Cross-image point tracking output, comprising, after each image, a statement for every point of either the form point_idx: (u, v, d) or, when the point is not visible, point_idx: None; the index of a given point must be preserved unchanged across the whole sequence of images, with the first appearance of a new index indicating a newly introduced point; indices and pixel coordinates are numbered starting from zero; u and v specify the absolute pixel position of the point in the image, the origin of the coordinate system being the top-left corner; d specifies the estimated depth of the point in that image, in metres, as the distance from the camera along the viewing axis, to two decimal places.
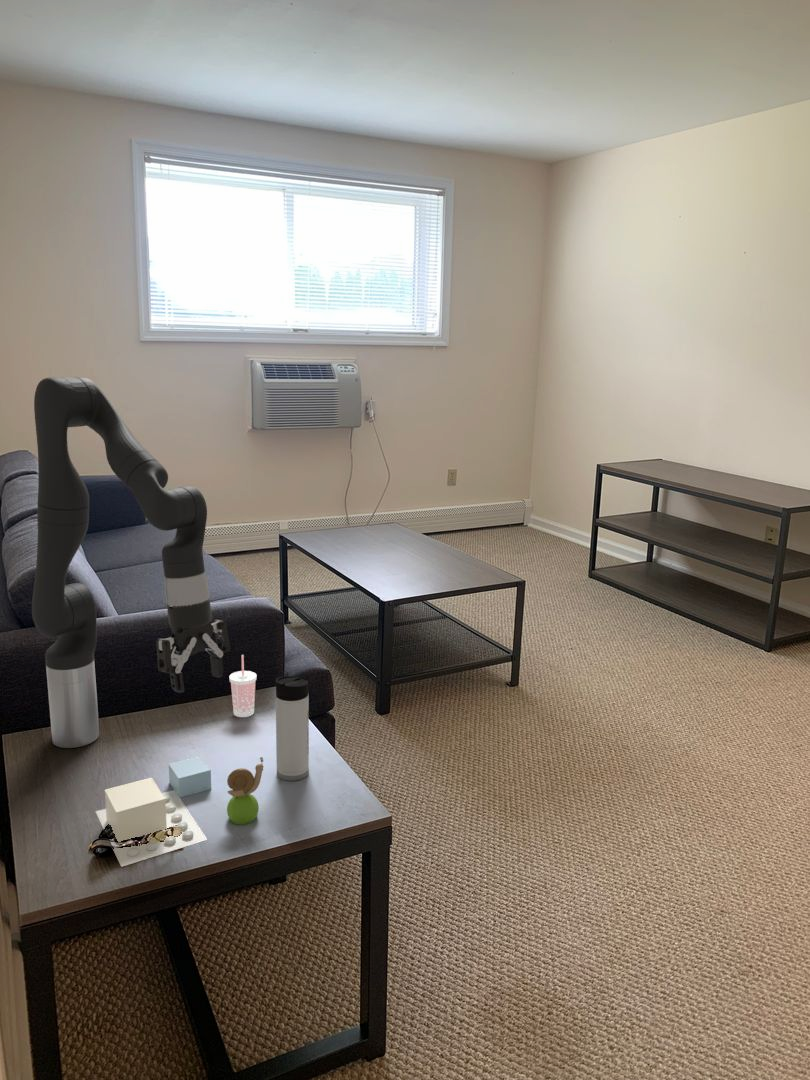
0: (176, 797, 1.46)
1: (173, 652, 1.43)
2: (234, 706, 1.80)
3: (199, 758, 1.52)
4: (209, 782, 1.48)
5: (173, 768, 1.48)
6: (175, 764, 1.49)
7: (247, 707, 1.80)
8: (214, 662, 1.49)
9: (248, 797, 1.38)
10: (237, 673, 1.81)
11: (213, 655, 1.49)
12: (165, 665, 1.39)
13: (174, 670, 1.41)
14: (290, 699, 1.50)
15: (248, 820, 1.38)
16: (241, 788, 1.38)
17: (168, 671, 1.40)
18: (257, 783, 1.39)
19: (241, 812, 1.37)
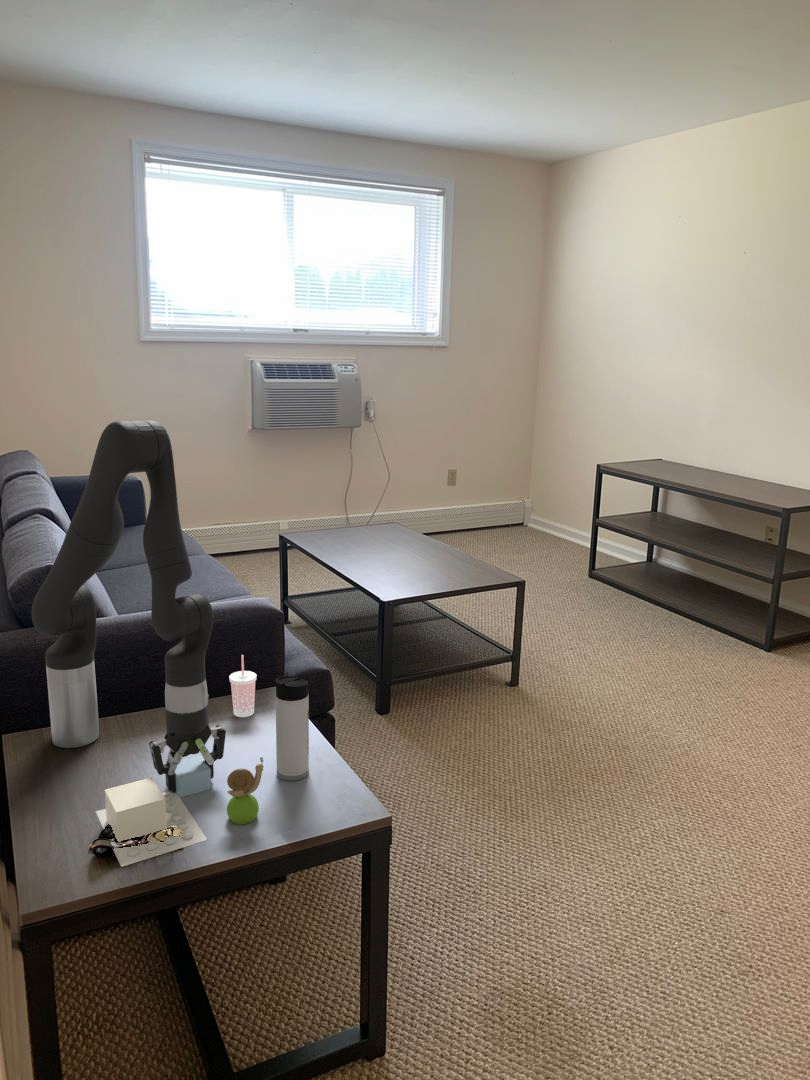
0: (176, 797, 1.46)
1: (170, 751, 1.47)
2: (234, 706, 1.80)
3: (199, 757, 1.52)
4: (209, 781, 1.48)
5: None
6: None
7: (247, 707, 1.80)
8: None
9: (248, 798, 1.38)
10: (237, 673, 1.81)
11: (205, 760, 1.50)
12: (157, 768, 1.44)
13: (167, 772, 1.45)
14: (290, 699, 1.50)
15: (248, 820, 1.38)
16: (241, 788, 1.38)
17: (160, 773, 1.44)
18: (257, 783, 1.39)
19: (241, 812, 1.37)
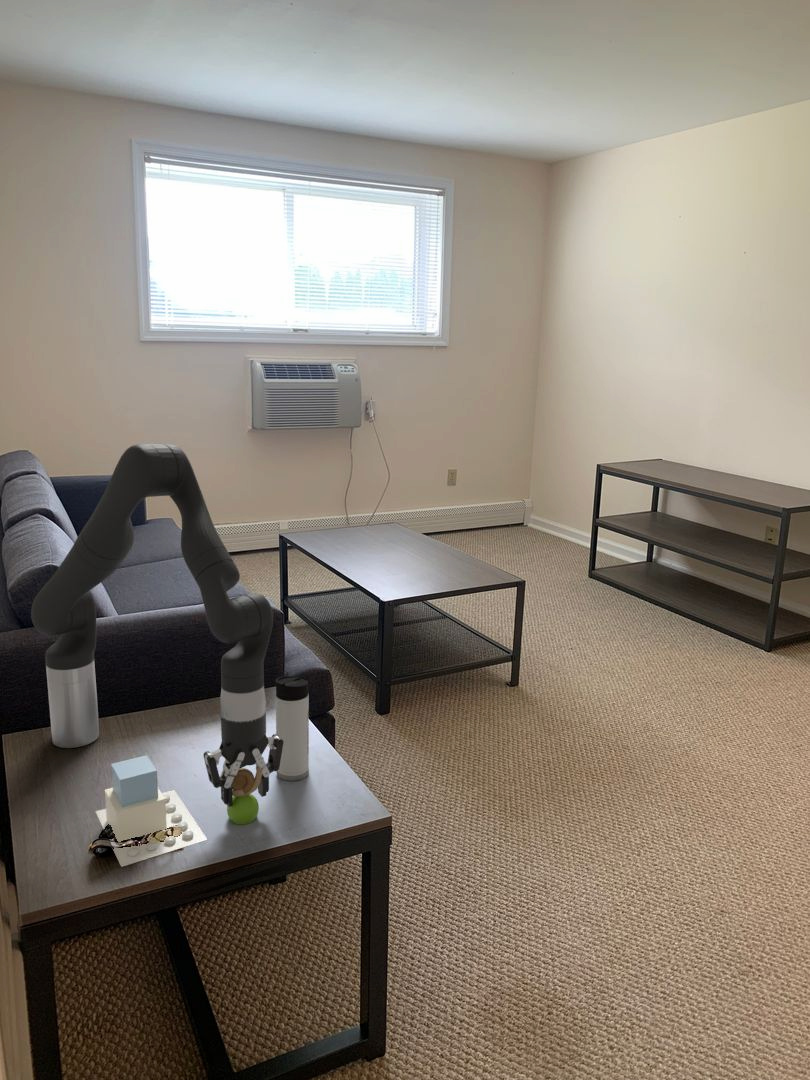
0: (176, 797, 1.46)
1: (225, 763, 1.37)
2: None
3: (146, 757, 1.37)
4: (155, 784, 1.34)
5: (115, 768, 1.34)
6: (118, 764, 1.35)
7: None
8: None
9: (248, 797, 1.38)
10: None
11: None
12: (212, 780, 1.34)
13: (223, 784, 1.35)
14: (290, 699, 1.50)
15: (248, 820, 1.38)
16: (241, 788, 1.38)
17: (216, 786, 1.34)
18: (257, 783, 1.39)
19: (241, 812, 1.37)
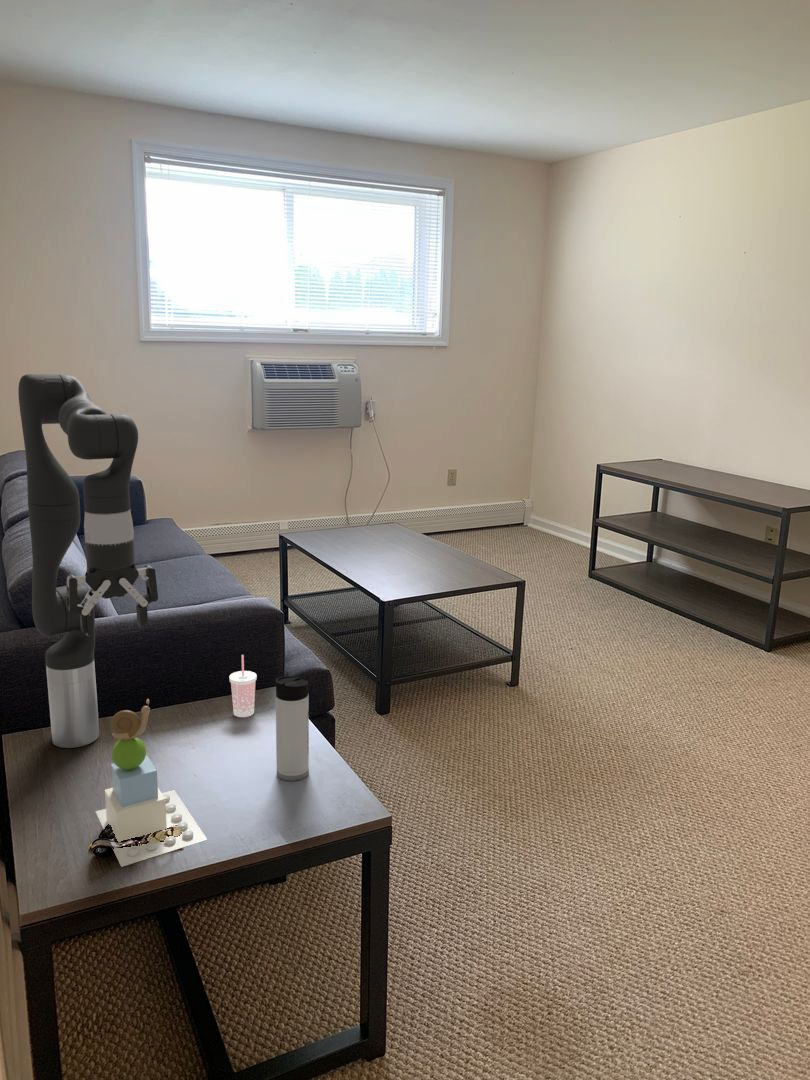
0: (176, 797, 1.46)
1: (88, 592, 1.32)
2: (234, 706, 1.80)
3: (146, 757, 1.37)
4: (155, 784, 1.34)
5: (115, 768, 1.34)
6: None
7: (247, 707, 1.80)
8: (138, 610, 1.36)
9: (133, 741, 1.32)
10: (237, 673, 1.81)
11: (138, 603, 1.36)
12: (69, 604, 1.29)
13: (81, 611, 1.30)
14: (290, 699, 1.50)
15: (133, 764, 1.31)
16: (126, 731, 1.32)
17: (72, 611, 1.29)
18: (143, 726, 1.32)
19: (124, 755, 1.31)
